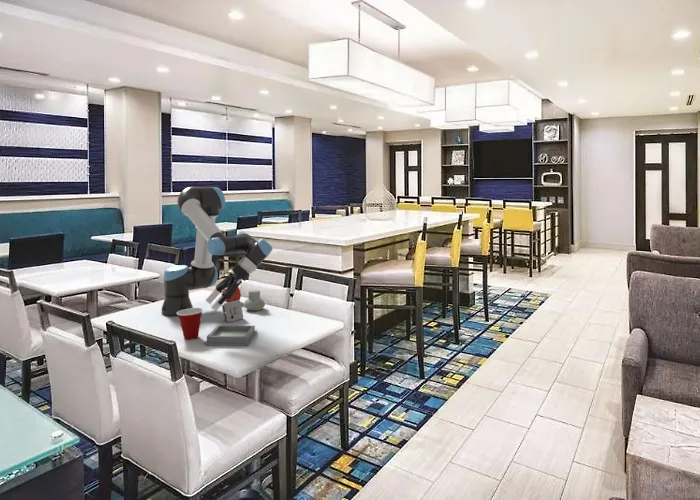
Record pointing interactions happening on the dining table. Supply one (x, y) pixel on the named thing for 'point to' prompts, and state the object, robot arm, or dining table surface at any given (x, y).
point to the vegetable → (234, 295)
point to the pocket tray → (231, 335)
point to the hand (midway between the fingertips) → (210, 305)
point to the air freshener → (254, 301)
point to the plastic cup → (190, 322)
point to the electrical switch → (232, 311)
